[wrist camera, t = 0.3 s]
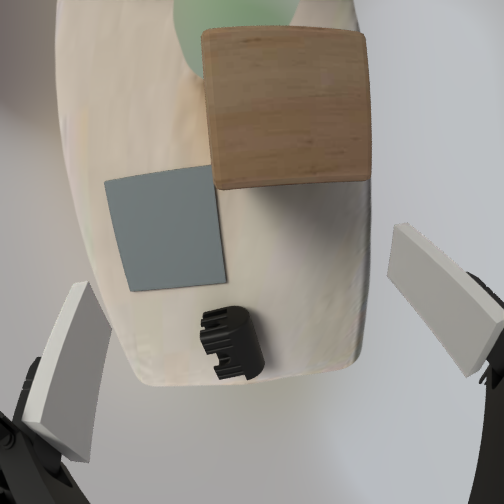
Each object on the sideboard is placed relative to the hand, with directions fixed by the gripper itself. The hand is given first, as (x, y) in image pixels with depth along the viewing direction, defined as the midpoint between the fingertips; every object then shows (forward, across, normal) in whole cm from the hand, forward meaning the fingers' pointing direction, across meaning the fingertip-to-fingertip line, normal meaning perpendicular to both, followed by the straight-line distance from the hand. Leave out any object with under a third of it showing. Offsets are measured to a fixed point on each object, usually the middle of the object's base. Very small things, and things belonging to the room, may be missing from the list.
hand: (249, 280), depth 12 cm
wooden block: (+27, +6, +4) cm, 28 cm away
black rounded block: (+24, -2, -27) cm, 36 cm away
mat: (+26, -8, -10) cm, 29 cm away
